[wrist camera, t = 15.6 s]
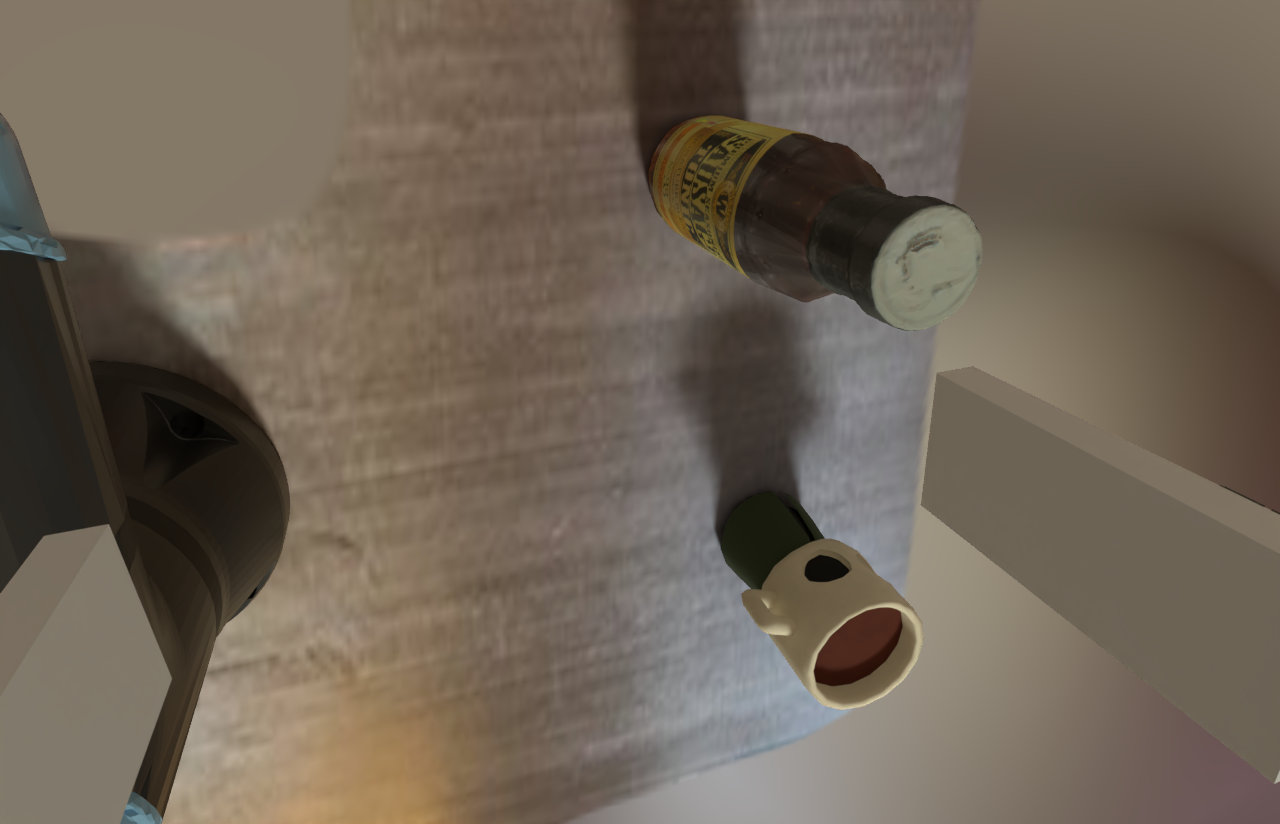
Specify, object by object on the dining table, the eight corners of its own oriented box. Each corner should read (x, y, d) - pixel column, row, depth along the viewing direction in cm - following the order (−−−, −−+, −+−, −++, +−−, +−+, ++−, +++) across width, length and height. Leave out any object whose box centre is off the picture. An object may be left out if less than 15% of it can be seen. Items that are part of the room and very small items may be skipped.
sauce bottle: (652, 104, 38) (875, 123, 21) (762, 124, 40) (1049, 156, 23) (632, 235, 40) (818, 350, 23) (737, 247, 42) (981, 361, 25)
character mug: (844, 492, 52) (973, 608, 40) (806, 579, 54) (919, 713, 42) (705, 470, 48) (806, 591, 36) (670, 565, 50) (755, 709, 38)
